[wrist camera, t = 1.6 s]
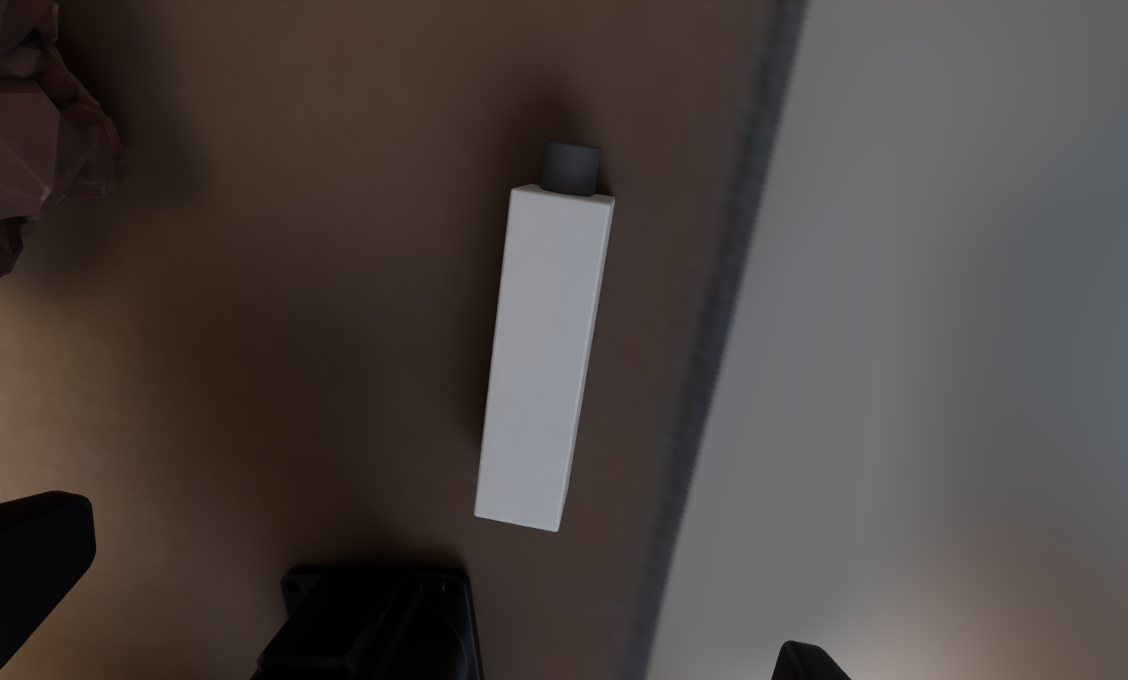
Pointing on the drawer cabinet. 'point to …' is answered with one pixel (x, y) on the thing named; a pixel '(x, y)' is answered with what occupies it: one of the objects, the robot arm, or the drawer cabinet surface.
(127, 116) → the drawer cabinet surface
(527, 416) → the square white bottle
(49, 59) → the mineral specimen
